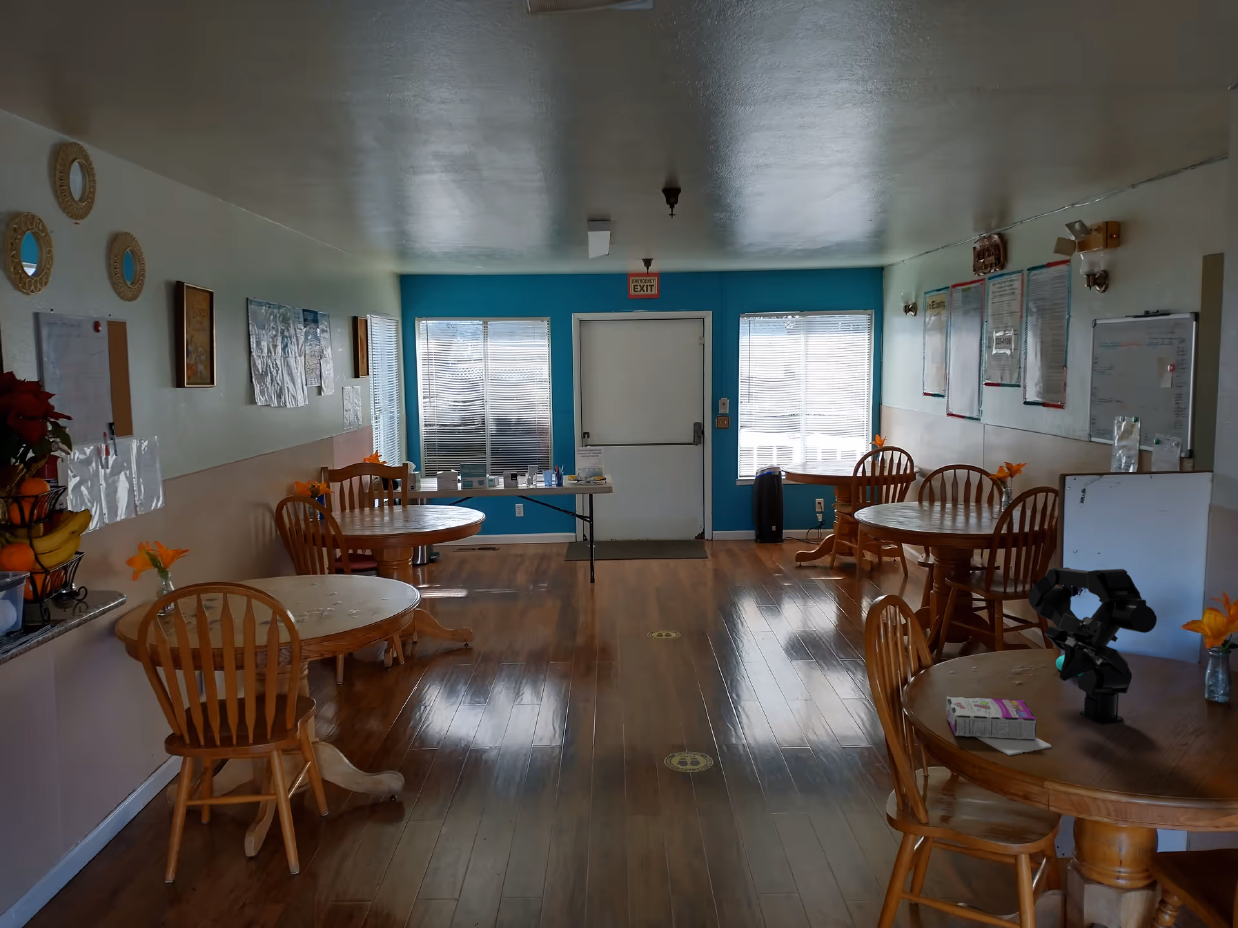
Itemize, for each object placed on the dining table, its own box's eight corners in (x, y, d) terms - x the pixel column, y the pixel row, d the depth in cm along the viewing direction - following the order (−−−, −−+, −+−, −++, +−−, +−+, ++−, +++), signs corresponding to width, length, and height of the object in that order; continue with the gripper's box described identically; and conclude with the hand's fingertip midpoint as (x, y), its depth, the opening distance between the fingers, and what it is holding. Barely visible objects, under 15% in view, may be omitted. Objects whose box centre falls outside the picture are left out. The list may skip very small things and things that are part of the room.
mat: (1008, 725, 198) (1008, 723, 198) (1051, 747, 187) (1051, 745, 187) (968, 732, 195) (968, 731, 194) (1008, 755, 183) (1008, 753, 183)
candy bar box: (1023, 720, 199) (945, 716, 203) (1024, 699, 199) (946, 694, 202) (1036, 742, 189) (953, 736, 192) (1037, 719, 188) (954, 714, 191)
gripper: (1052, 590, 203) (1009, 644, 201) (1119, 612, 185) (1073, 671, 183) (1079, 620, 206) (1038, 673, 204) (1148, 645, 188) (1103, 703, 186)
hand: (1061, 679), depth 194 cm, fingers closed
